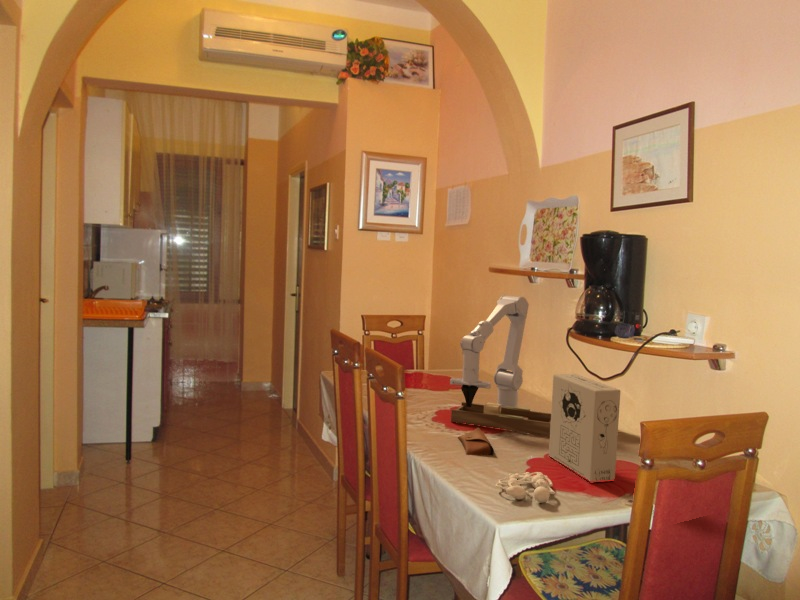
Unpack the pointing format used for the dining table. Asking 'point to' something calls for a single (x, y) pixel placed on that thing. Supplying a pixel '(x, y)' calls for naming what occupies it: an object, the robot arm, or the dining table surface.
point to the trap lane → (504, 419)
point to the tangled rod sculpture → (537, 482)
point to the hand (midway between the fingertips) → (469, 406)
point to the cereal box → (584, 426)
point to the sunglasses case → (476, 443)
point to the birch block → (492, 409)
